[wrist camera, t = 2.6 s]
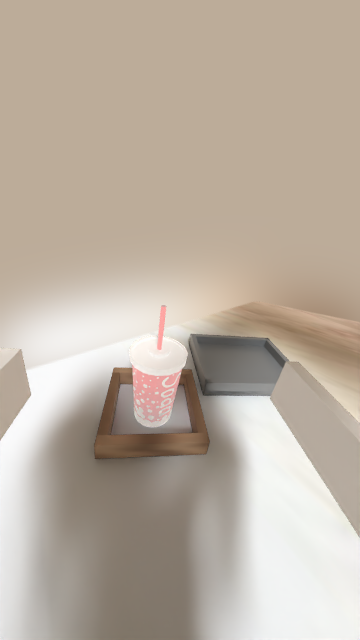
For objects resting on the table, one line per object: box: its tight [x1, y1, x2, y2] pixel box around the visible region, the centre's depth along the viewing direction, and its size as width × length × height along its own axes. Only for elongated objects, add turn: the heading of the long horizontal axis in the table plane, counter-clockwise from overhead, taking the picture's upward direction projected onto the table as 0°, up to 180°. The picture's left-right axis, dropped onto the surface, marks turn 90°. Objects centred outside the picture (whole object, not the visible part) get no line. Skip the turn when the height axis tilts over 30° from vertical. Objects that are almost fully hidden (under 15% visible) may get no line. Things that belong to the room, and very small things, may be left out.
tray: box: [189, 334, 290, 396], centre depth 36 cm, size 16×13×2 cm
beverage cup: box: [130, 305, 188, 427], centre depth 23 cm, size 6×6×14 cm
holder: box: [94, 368, 210, 459], centre depth 25 cm, size 11×11×2 cm
